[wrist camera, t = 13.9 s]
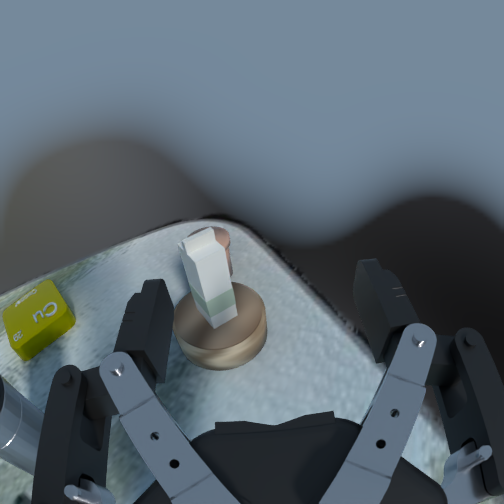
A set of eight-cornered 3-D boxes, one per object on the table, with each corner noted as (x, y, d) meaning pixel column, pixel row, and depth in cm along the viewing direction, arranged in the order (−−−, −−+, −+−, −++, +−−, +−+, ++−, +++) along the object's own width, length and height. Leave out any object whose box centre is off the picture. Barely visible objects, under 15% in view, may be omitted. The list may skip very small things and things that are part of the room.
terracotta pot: (189, 286, 57) (178, 252, 52) (201, 259, 63) (193, 226, 59) (230, 288, 56) (223, 253, 51) (239, 260, 62) (233, 226, 57)
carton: (214, 329, 42) (191, 251, 34) (196, 308, 46) (173, 233, 37) (238, 315, 44) (223, 236, 36) (219, 296, 47) (202, 220, 39)
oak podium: (168, 363, 44) (157, 344, 41) (194, 298, 54) (187, 277, 51) (259, 375, 41) (256, 356, 38) (272, 303, 52) (270, 281, 49)
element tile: (57, 290, 60) (48, 274, 57) (79, 323, 52) (68, 306, 49) (10, 325, 52) (-1, 310, 49) (24, 365, 43) (10, 350, 40)
